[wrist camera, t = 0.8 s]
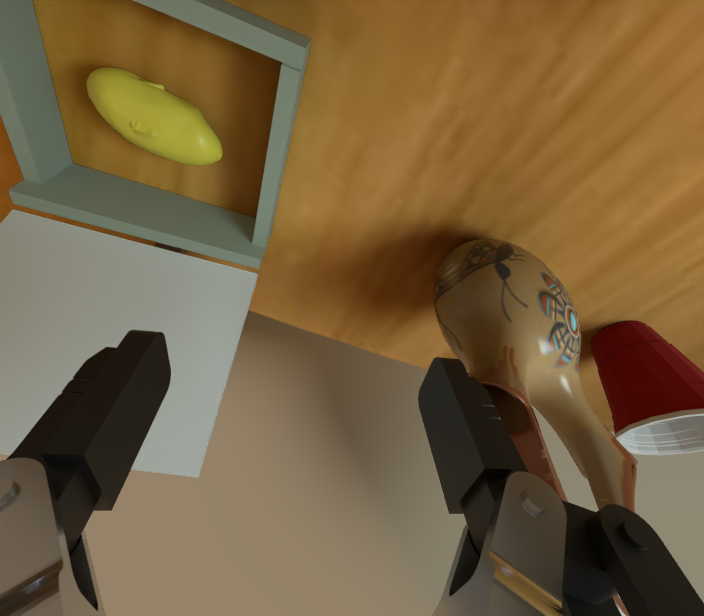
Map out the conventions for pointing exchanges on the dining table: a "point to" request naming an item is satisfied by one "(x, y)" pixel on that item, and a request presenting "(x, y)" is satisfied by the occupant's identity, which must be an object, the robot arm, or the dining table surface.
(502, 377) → the ceramic vessel
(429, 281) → the dining table surface
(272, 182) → the frame
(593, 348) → the plastic cup
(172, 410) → the lid
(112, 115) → the yellow oblong lump
